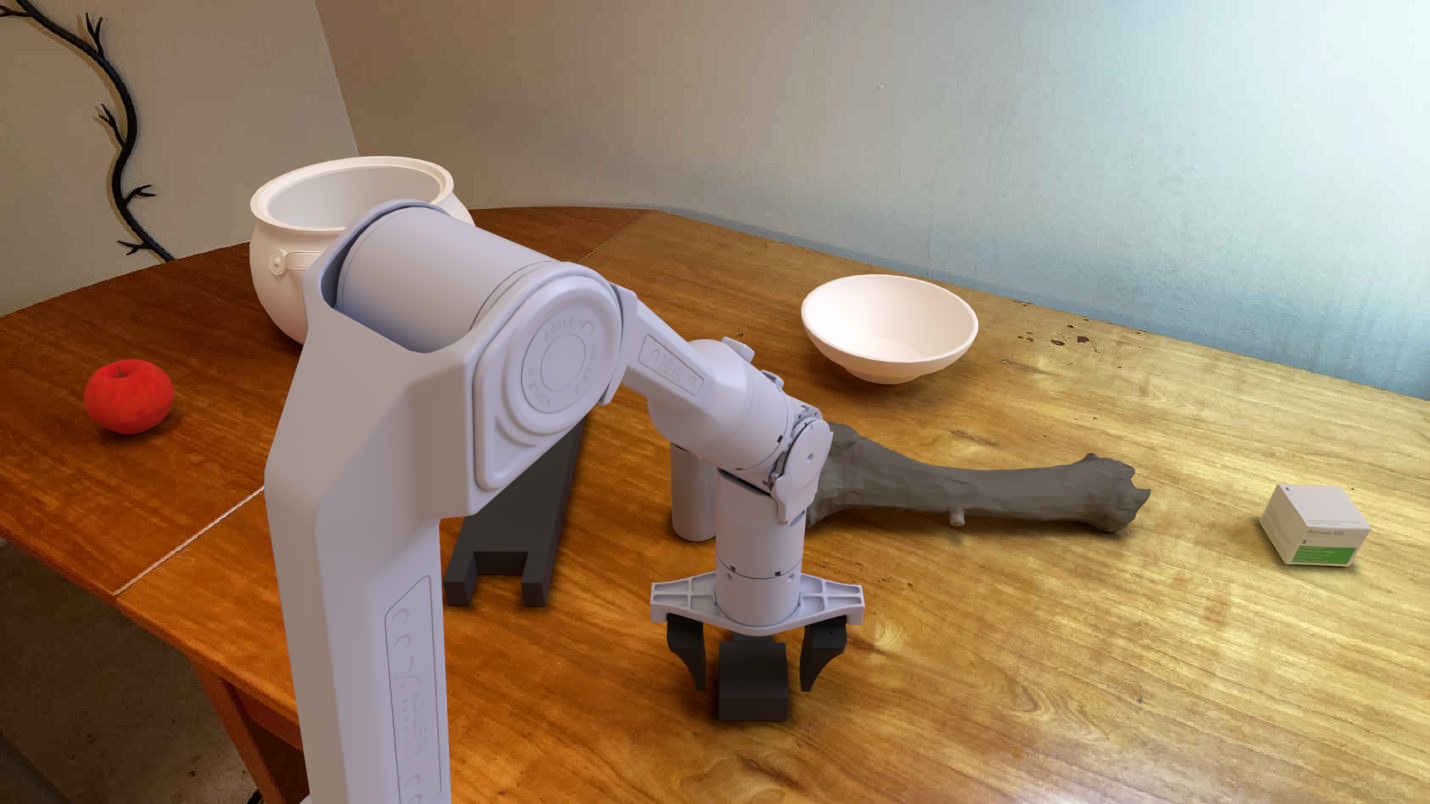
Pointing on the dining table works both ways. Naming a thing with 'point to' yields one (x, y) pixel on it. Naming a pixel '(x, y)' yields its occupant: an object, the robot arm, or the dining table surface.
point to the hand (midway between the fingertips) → (752, 680)
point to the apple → (128, 396)
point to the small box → (1314, 525)
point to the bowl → (888, 326)
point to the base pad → (518, 528)
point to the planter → (692, 495)
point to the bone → (972, 487)
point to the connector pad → (753, 679)
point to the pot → (328, 220)
